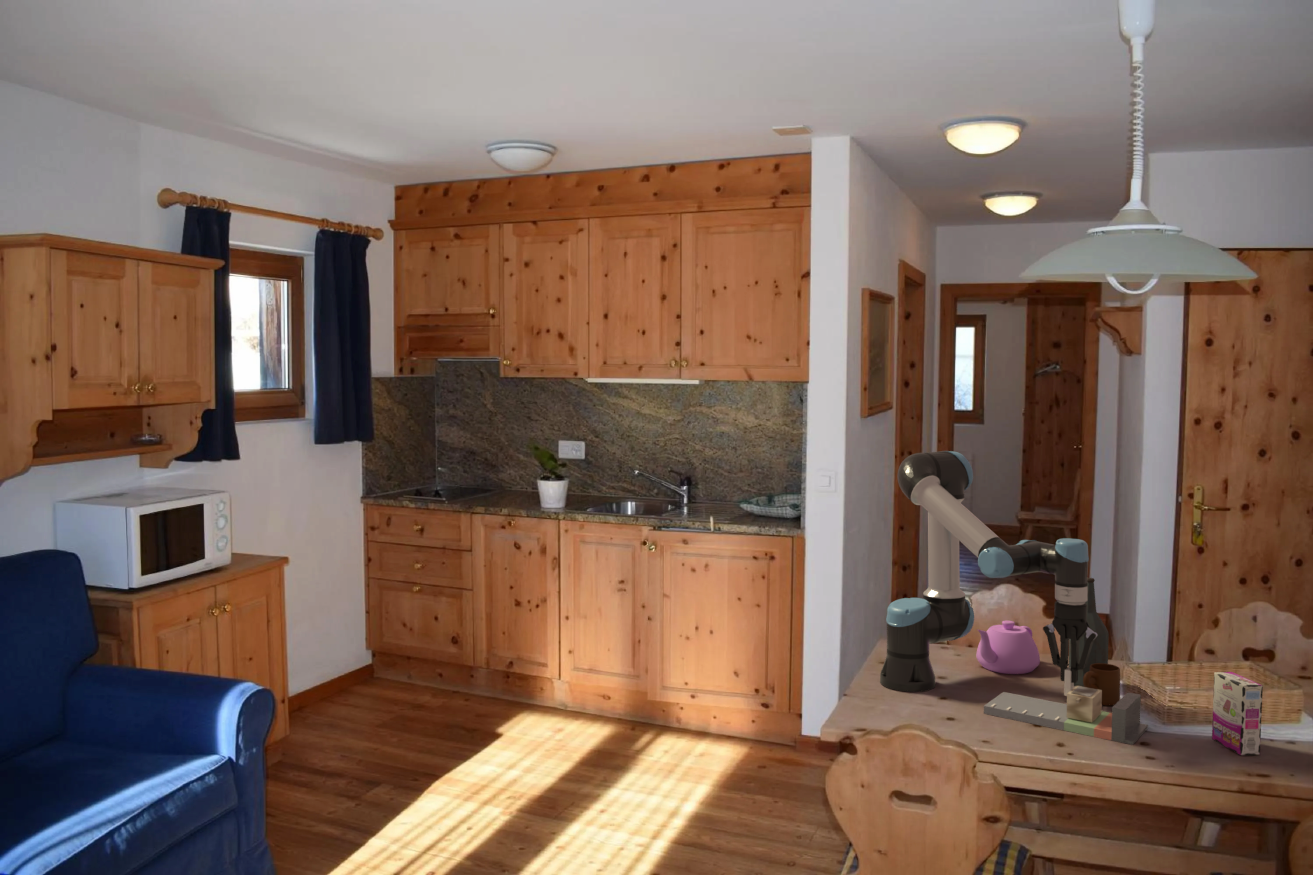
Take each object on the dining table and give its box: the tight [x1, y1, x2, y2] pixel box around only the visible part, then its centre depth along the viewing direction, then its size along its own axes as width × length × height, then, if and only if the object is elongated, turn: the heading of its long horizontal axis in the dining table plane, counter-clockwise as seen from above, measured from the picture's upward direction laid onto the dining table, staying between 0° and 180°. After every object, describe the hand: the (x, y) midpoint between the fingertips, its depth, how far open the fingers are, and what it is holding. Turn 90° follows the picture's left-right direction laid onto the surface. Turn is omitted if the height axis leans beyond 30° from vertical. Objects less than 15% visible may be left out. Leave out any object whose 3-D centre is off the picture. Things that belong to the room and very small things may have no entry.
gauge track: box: [983, 691, 1112, 741], centre depth 259 cm, size 31×14×2 cm, turn 51°
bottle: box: [1068, 577, 1109, 687], centre depth 285 cm, size 10×10×30 cm
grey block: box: [1110, 692, 1149, 746], centre depth 248 cm, size 5×14×8 cm, turn 141°
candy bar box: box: [1211, 671, 1264, 756], centre depth 238 cm, size 11×5×16 cm, turn 5°
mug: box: [1083, 663, 1121, 707], centre depth 270 cm, size 12×8×9 cm, turn 120°
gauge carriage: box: [1066, 686, 1103, 723], centre depth 253 cm, size 6×10×6 cm, turn 141°
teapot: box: [975, 619, 1041, 675], centre depth 302 cm, size 25×18×14 cm
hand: (1068, 694), depth 256 cm, fingers closed
